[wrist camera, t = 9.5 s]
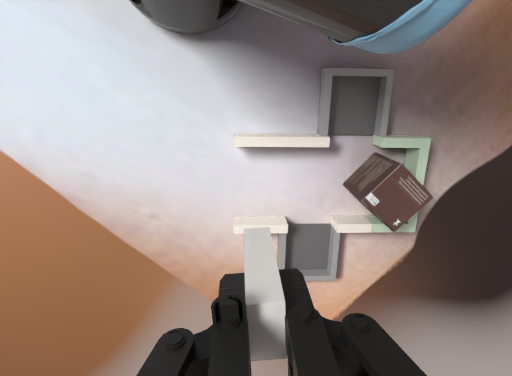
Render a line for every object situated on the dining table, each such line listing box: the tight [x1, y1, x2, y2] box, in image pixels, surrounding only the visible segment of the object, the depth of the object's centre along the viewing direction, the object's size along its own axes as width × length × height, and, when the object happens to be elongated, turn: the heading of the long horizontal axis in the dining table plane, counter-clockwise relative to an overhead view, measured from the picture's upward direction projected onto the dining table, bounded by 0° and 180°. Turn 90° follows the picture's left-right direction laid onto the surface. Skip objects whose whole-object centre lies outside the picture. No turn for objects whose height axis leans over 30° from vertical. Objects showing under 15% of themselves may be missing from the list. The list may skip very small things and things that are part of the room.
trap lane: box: [233, 68, 431, 281], centre depth 41 cm, size 28×24×3 cm
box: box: [343, 153, 433, 232], centre depth 39 cm, size 6×6×7 cm
